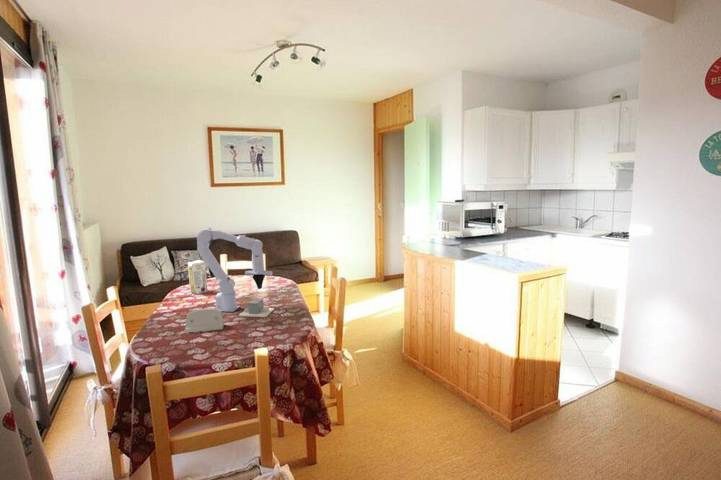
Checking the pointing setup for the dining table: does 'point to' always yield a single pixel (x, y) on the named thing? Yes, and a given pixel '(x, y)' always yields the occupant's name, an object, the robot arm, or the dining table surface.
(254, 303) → the module
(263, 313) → the rail board
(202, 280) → the juice carton
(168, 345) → the dining table surface
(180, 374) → the dining table surface
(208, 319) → the light grey flat block
